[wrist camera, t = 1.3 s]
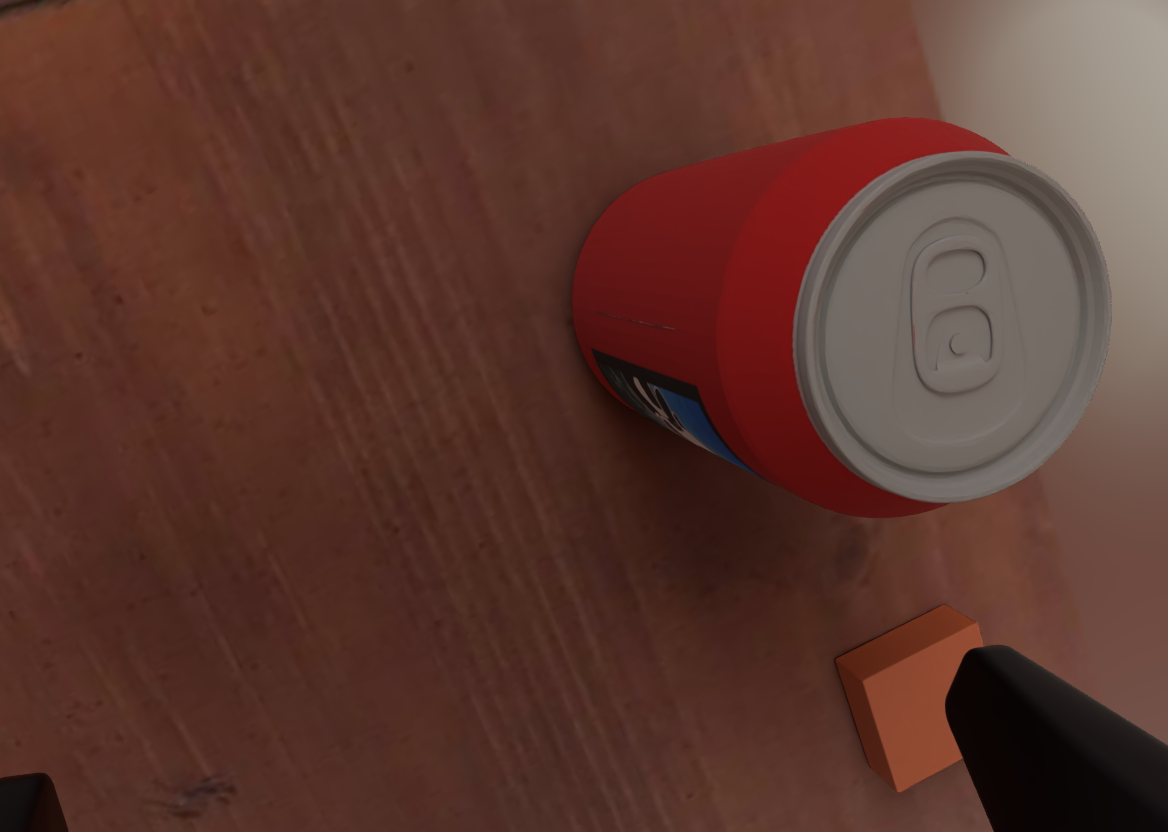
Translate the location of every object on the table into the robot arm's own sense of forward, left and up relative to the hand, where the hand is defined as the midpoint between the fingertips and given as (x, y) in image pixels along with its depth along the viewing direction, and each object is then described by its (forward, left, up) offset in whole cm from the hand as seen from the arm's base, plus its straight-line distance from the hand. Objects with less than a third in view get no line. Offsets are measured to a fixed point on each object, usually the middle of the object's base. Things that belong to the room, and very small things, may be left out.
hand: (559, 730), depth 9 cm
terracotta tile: (-13, -11, -16) cm, 24 cm away
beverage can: (+1, -8, -16) cm, 18 cm away
